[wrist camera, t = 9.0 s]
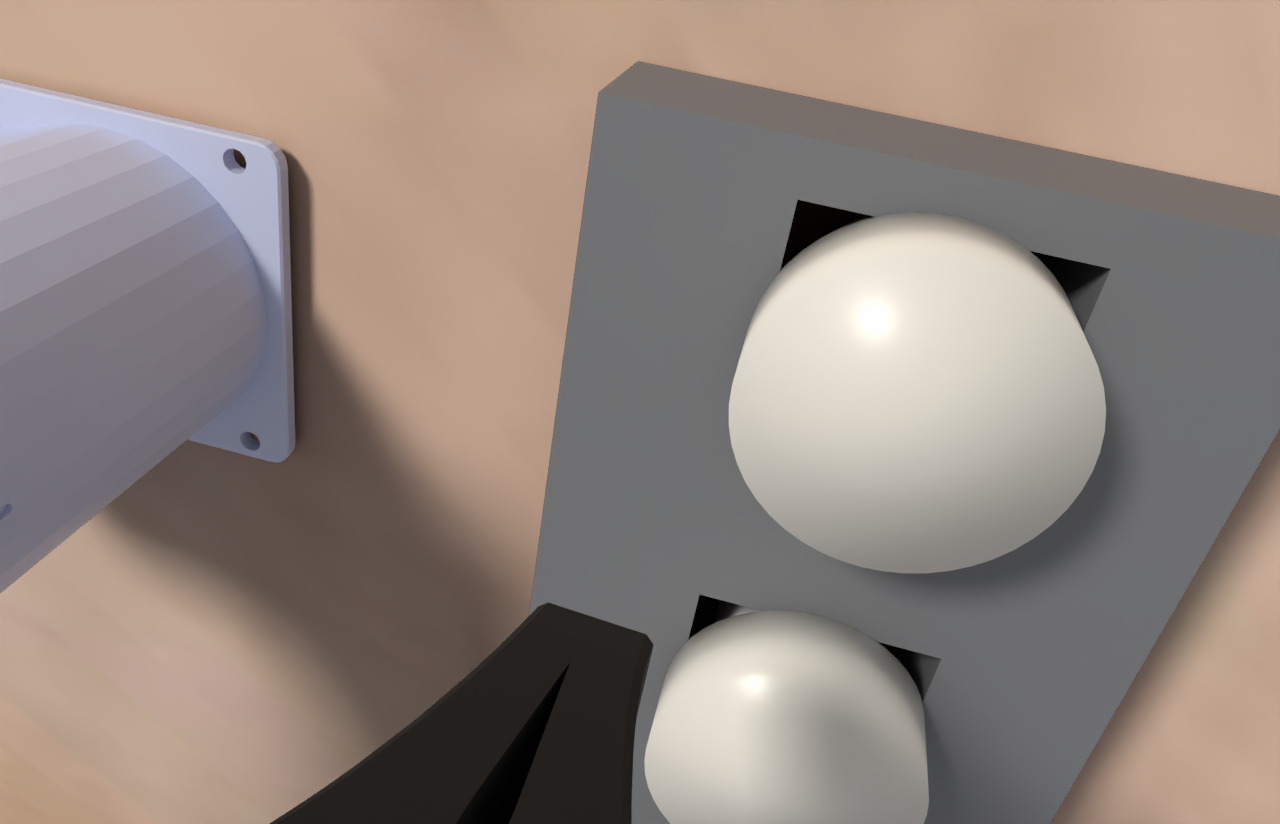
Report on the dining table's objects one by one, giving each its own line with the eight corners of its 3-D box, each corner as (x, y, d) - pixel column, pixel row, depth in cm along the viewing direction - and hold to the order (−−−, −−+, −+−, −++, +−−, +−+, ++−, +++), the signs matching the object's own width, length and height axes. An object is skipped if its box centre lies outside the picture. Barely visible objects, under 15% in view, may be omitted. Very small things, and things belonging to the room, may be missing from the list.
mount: (518, 854, 30) (484, 945, 28) (637, 61, 18) (598, 92, 16) (901, 970, 29) (903, 1076, 27) (1303, 201, 17) (1378, 259, 14)
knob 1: (735, 392, 21) (698, 524, 17) (796, 135, 18) (772, 216, 14) (995, 455, 21) (1026, 610, 16) (1101, 200, 18) (1172, 305, 13)
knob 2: (668, 672, 25) (625, 835, 21) (709, 499, 23) (669, 647, 18) (881, 731, 25) (882, 911, 21) (951, 562, 22) (969, 729, 18)
